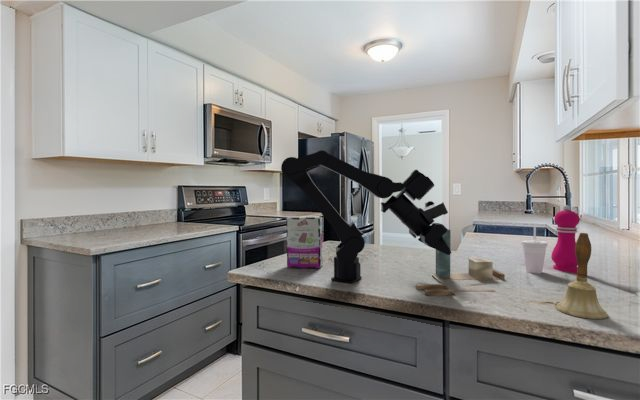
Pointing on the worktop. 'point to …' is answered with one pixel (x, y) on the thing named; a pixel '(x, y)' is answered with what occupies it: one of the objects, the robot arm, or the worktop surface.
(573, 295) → the hand bell
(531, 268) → the smoothie
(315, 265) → the candy bar box
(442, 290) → the broken lane
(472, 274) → the maple block
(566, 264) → the pepper mill
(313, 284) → the worktop surface
